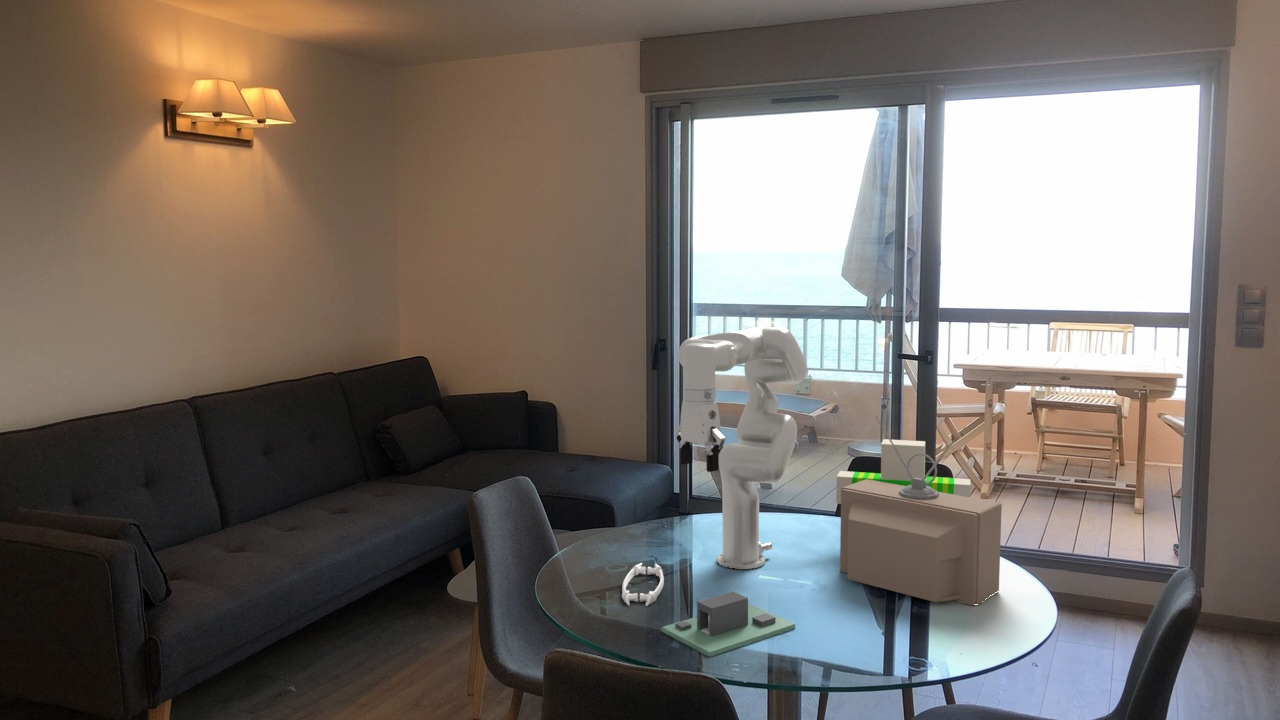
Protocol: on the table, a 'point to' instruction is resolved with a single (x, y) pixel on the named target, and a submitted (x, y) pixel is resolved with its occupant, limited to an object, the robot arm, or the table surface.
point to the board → (729, 632)
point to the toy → (903, 470)
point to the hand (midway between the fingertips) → (699, 467)
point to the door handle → (643, 597)
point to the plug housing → (722, 613)
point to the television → (920, 539)
